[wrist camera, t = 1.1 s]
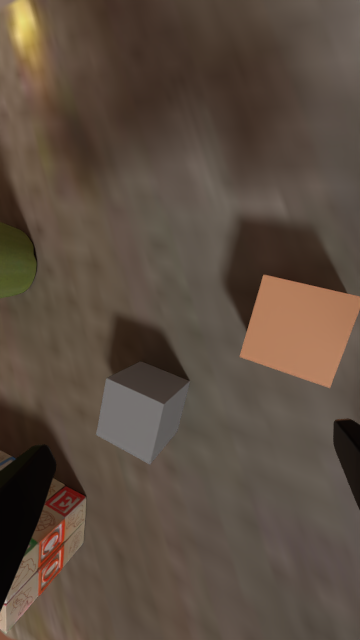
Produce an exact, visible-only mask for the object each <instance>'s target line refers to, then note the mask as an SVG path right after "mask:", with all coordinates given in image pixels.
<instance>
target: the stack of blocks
mask: <svg viewBox="0 0 360 640" xmlns="http://www.w3.org/2000/svg"><path fill="white" fill-rule="evenodd" d="M15 459H16V458H14V457H12V456H10V455H8V454H6V453H5V452H3V451H1V450H0V470H2V469H3V468H4V467H6V466H7V465H8V464H10V463H11V462H12V461H14V460H15ZM85 517H86V496H84V495H82V494H80V493H78V492H76V491H74V490H72V489H71V488H69V487H66V486H65V485H64V484H63V483H61V482H59V481H57V480H56V479H54V478H53V480H52V483H51V486H50V489H49V492H48V495H47V498H46V501H45V504H44V507H43V510H42V513H41V516H40V519H39V521H38V524H37V527H36V529H35V531H34V534H33V536H32V538H31V541H30V543H29V546H28V548H27V550H26V553H25V555H24V557H23V560H22V562H21V565H20V567H19V569H18V572H17V574H16V576H15V579H14V581H13V583H12V586H11V588H10V591H9V593H8V595H7V598H6V600H5V602H4V605H3V607H2V609H1V612H0V629H1V630H2V631H3V632H4V633H7V632H8V631H9V630H10V629H11V627H12V626H13V625H14V624H15V623H16V622H17V620H18V619H19V618H20V617H21V616H22V615H23V613H24V612H25V611H26V610H27V609H28V608H29V606H30V605H31V604H32V603H33V602H34V601H35V599H36V598H37V596H40V594H41V593H42V592H43V591H44V590H45V589H46V587H47V586H48V585H49V584H50V583H51V582H52V580H53V579H54V578H55V577H56V576H57V574H58V573H59V572H60V571H61V569H62V568H63V566H65V564H66V563H67V562H68V561H69V560H70V558H71V557H72V556H73V555H74V553H75V552H76V551H77V550H78V549H79V547H80V546H81V545H82V544H83V542H84V529H85Z"/></svg>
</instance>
